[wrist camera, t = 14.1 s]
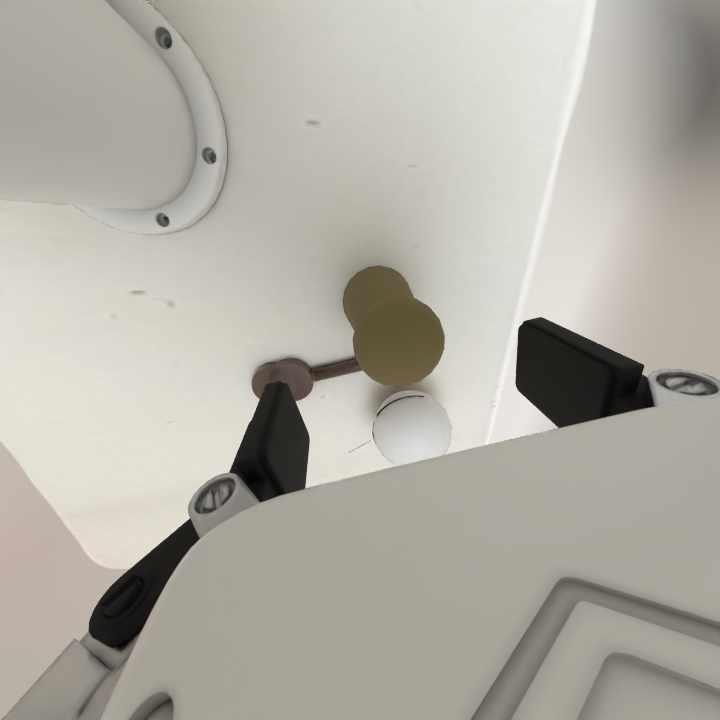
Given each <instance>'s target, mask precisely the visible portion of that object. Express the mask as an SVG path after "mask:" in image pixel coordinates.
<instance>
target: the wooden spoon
mask: <svg viewBox="0 0 720 720" xmlns="http://www.w3.org/2000/svg"><path fill="white" fill-rule="evenodd" d="M358 371H363V370H362V369H361V367H360V365H359V363H358V361H357V360H356V359H354V360H350V361H346V362H341V363H337V364H333V365H329V366H325V367H320V368H316V369H313V370H311V368H310V367H309V366H308V365H307V364H306V363H304V362H303V361H300V360H297V359H284V360H281V361H279V362H277V363H276V362H273V363H267V364H265V365H263V366H261V367H260V368H259V369H258V370H257V371H256V373H255V375H254V377H253V379H252V389H253V392H254V393H255V395H256V396H257V397H258V398H259V399H260V398H261V395H262V393H263V390H264V388H265V385H266V384H268V383H272V382H277V381H282V382H283V383H287V384H288V385H289V388H290V390H291V392H292V395H293V397H294V400H295V401H297V400H301V399H303V398H305V397H306V396H307V395H308V394H309V393H310V392H311V390H312V388H313V382H314V381H320V380H324V379H328V378H333V377H337V376H341V375H345V374H350V373H354V372H358Z"/></svg>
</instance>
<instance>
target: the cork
mask: <svg viewBox="0 0 720 720" xmlns="http://www.w3.org/2000/svg"><path fill="white" fill-rule="evenodd" d="M343 306H344V312H345V314H346V316H347V318H348V320H349V322H350V323H351V325H352V327H353V329H354V330H355V331H354V336H353V346H354V354H355V358H356V360H357V361H358V363H359V365H360V367H361V369H362V370H363V371H364V372H365V373H366V374H367V375H368V376H369V377H370V378H371V379H373V380H375V381H377V382H379V383H381V384H384V385H391V386H405V385H411V384H413V383H416V382H418V381H421V380H422V379H423V378H425V377H426V376H427V375H429V374H430V373H431V372H432V371H433V369H434V368H435V367H436V365H437V364H438V363H439V361H440V359H441V356H442V353H443V350H444V338H445V336H444V332H443V329H442V326H441V323H440V320H439V318H438V317H437V316H436V314H435V313H434V312H433V311H432V309H431V308H429V307H428V306H427V305H425V304H423V303H422V302H420V301H418V300H417V299H414V297H413V295H412V293H411V290H410V288H409V286H408V283H407V282H406V280H405V279H404V278H403V277H402V276H401V274H399V273H398V272H396V271H395V270H393V269H391V268H387V267H382V266H376V267H369V268H367V269H364V270H362V271H360V272H358V273H357V274H356V275H355V276H354V277H353V278H352V279H351V280H350V282H349V283H348V285H347V287H346V289H345V292H344V298H343Z"/></svg>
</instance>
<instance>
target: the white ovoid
mask: <svg viewBox="0 0 720 720" xmlns="http://www.w3.org/2000/svg"><path fill="white" fill-rule="evenodd" d="M451 428H452V427H451V424H450V420H449V418H448V415H447V412H446V410H445V409H444V408H443V407H442V406H441V405H440V403H439V402H438V401H437V400H436V399H435V398H434V397H432V396H430V395H428V394H426V393H423V392H420V391H414V390H406V391H400V392H397V393H395V394H392V395H391V396H389V397H388V398H387V399H386V400H384V402H383V403H382V404H381V406H380V407H379V409H378V410H377V412H376V414H375V417H374V421H373V438H374V441H375V443H376V445H377V447H378V449H379V451H380V452H381V454H382V455H383V456H384V457H385V458H386V459H387V460H389V461H390V462H391V463H392V464H394V465H395V466H400V465H404V464H408V463H413V462H417V461H421V460H425V459H430V458H434V457H438V456H442V455H444V454H445V453H446V452H447V449H448V447H449V445H450V440H451ZM369 442H370V441H369ZM367 443H368V442H367ZM365 444H366V443H365ZM363 445H364V444H363ZM363 445H361V446H363ZM361 446H360V447H361ZM358 448H359V447H358ZM356 449H357V448H356ZM354 450H355V449H354ZM352 451H353V450H352ZM350 452H351V451H350ZM350 452H349V453H350Z"/></svg>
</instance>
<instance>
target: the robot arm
mask: <svg viewBox="0 0 720 720" xmlns="http://www.w3.org/2000/svg"><path fill="white" fill-rule="evenodd" d="M170 42H172V44H171V47H170V48H168V44H169V43H170ZM213 154H215V155H216V161H215V162H212V160H211V156H212V155H213ZM226 167H227V140H226V132H225V124H224V121H223V117H222V113H221V110H220V106H219V102H218V99H217V97H216V95H215V92H214V90H213V88H212V85H211V83H210V81H209V78H208V76H207V74H206V73H205V71H204V69H203V68H202V66H201V64H200V63H199V61H198V59H197V58H196V56H195V54H194V53H193V51H192V50H191V49H190V47H189V46H188V45H187V44H186V42H185V41H184V40H183V38H182V37H181V36H180V35H179V33H178V32H177V31H176V30H175V29H174V28H173V27H172V25H171V24H170V23H169V22H168V21H167V20H166V19H165V18H164V17H163V16H162V15H161V13H160V12H159V11H158V10H157V9H156V8H155V7H153V6H152V5H151V4H150V3H148V2H147V1H146V0H0V200H7V201H21V202H35V203H49V204H63V205H72V206H74V207H76V208H77V209H79V210H80V211H82V212H83V213H85V214H86V215H88V216H89V217H91V218H93V219H95V220H97V221H99V222H101V223H103V224H106V225H108V226H110V227H112V228H116V229H119V230H123V231H126V232H130V233H137V234H146V235H154V234H166V233H171V232H176V231H180V230H182V229H184V228H187V227H189V226H191V225H193V224H194V223H196V222H197V221H198V220H200V219H201V218H202V217H203V216H205V215H206V213H207V212H208V211H209V209H210V208H211V207H212V206H213V204H214V203H215V201H216V199H217V197H218V195H219V193H220V190H221V188H222V185H223V181H224V177H225V172H226ZM167 217H168V218H169V222H170V223H168V222H167V220H166V219H167ZM643 368H644V365H643V364H641V363H638V362H636V361H634V360H632V359H630V358H628V357H626V356H623V355H621V354H619V353H617V352H615V351H613V350H611V349H609V348H606V347H604V346H602V345H600V344H597V343H596V342H594V341H591V340H589V339H587V338H585V337H583V336H581V335H579V334H576V333H574V332H572V331H570V330H568V329H566V328H563V327H561V326H559V325H557V324H555V323H553V322H551V321H549V320H546V319H544V318H542V317H539V318H535V319H531V320H527V321H524V322H523V324H522V325H521V326H520V327H519V330H518V347H517V365H516V387H517V389H518V391H519V392H520V393H521V394H523V395H524V396H525V397H526V398H527V399H528V400H529V401H530V402H531V403H532V404H533V405H534V406H536V407H537V408H538V409H539V410H540V411H541V412H542V413H543V414H544V415H545V416H546V417H548V418H549V419H550V420H551V421H552V422H553V423H554V424H555V425H556V426H557V427H558V428H557V429H553V430H548V431H544V432H540V433H536V434H532V435H527V436H523V437H519V438H515V439H510V440H506V441H502V442H497V443H493V444H489V445H485V446H480V447H476V448H472V449H468V450H463V451H459V452H455V453H451V454H446V455H442V456H438V457H434V458H430V459H425V460H421V461H417V462H413V463H408V464H404V465H400V466H396V467H392V468H388V469H383V470H379V471H375V472H371V473H367V474H363V475H359V476H354V477H350V478H346V479H342V480H338V481H334V482H330V483H325V484H321V485H317V486H314V487H310V488H306V489H305V484H306V474H307V463H308V453H309V442H310V439H309V434H308V431H307V428H306V426H305V424H304V421H303V419H302V416H301V414H300V412H299V409H298V407H297V404H296V402H295V400H294V397H293V395H292V392H291V390H290V388H289V385H288V384H287V383H283V382H282V381H277V382H272V383H268V384H266V385H265V388H264V390H263V393H262V395H261V398H260V401H259V403H258V406H257V408H256V411H255V413H254V416H253V418H252V421H250V423H249V425H248V427H247V430H246V432H245V435H244V437H243V440H242V442H241V445H240V447H239V450H238V452H237V455H236V457H235V460H234V462H233V465H232V467H231V470H230V472H229V473H225V474H221V475H218V476H216V477H214V478H212V479H211V480H209V481H207V482H206V483H205V484H204V485H203V486H201V487H200V488H199V489H198V491H197V492H196V493H195V494H194V496H193V497H192V499H191V501H190V503H189V507H188V513H189V516H190V519H189V520H188V521H186V522H185V523H184V524H183V525H182V526H180V527H179V528H178V529H177V530H176V531H175V532H173V533H172V534H171V535H170V536H169V537H167V538H166V539H165V540H164V541H163V542H161V543H160V544H159V545H158V546H157V547H156V548H154V549H153V550H152V551H151V552H150V553H148V554H147V555H146V556H145V557H144V558H143V559H141V560H140V561H139V562H138V563H137V564H135V565H134V566H133V567H132V568H131V569H129V570H128V571H127V572H126V573H125V574H124V575H122V576H121V577H120V578H119V579H118V580H117V581H116V582H115V583H114V584H113V585H112V586H111V587H110V588H109V589H108V590H107V591H106V593H105V594H104V595H103V597H102V598H101V599H100V601H99V602H98V604H97V606H96V607H95V609H94V611H93V613H92V616H91V618H90V621H89V631H88V633H87V634H86V635H85V636H84V637H83V638H82V639H81V640H80V641H78V640H77V639H74V640H73V641H72V642H71V643H70V644H69V645H68V646H67V647H66V648H65V650H64V651H63V652H62V653H61V654H60V655H59V656H58V657H57V659H56V660H55V661H54V662H53V663H52V664H51V665H50V666H49V667H48V669H47V670H46V671H45V672H44V673H43V674H42V675H41V676H40V677H39V679H38V680H37V681H36V682H35V683H34V684H33V685H32V686H31V687H30V689H29V690H28V691H27V692H26V693H25V694H24V695H23V697H21V699H20V700H19V701H18V702H17V703H16V704H15V705H14V706H13V707H12V709H11V710H10V711H9V712H8V713H7V714H6V715H5V716H4V717H3V719H2V720H720V381H719V380H718V379H716V378H714V377H711V376H708V375H706V374H702V373H699V372H695V371H688V370H682V369H662V370H657V371H654V372H652V373H651V374H650V375H649V377H648V378H647V377H646V376H644V375H642V372H643Z"/></svg>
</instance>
